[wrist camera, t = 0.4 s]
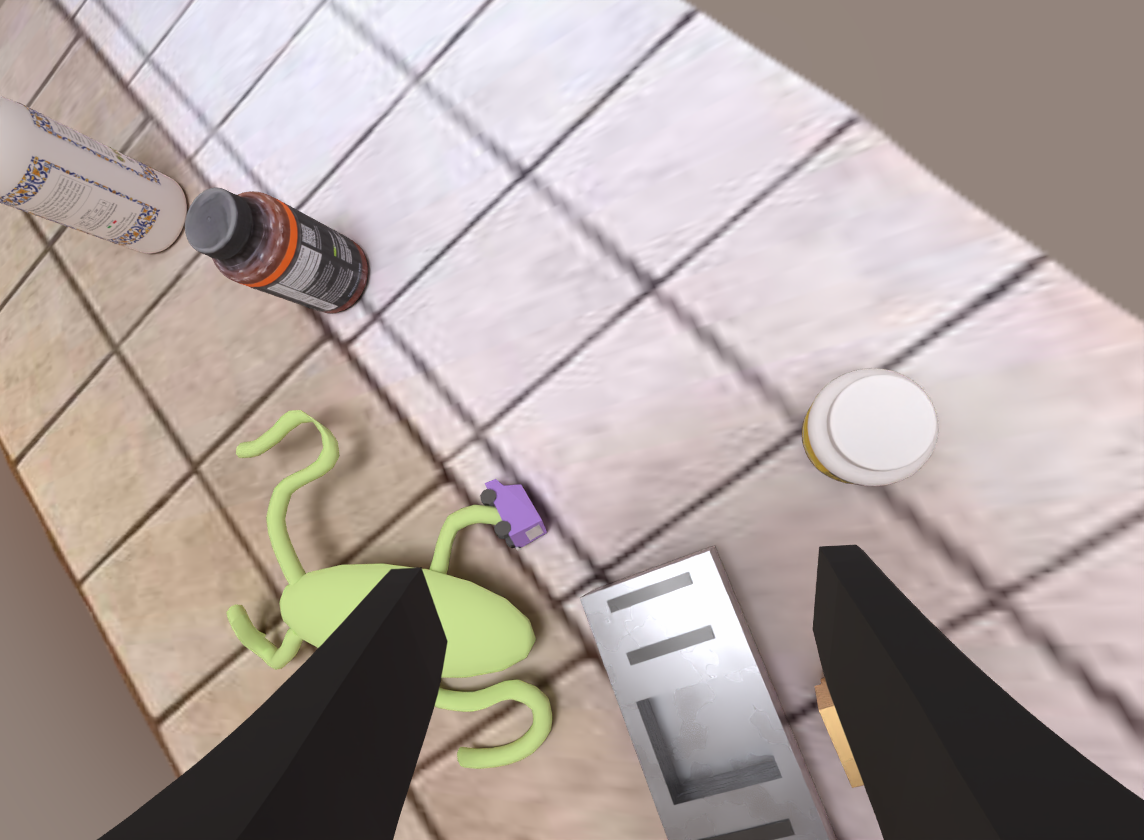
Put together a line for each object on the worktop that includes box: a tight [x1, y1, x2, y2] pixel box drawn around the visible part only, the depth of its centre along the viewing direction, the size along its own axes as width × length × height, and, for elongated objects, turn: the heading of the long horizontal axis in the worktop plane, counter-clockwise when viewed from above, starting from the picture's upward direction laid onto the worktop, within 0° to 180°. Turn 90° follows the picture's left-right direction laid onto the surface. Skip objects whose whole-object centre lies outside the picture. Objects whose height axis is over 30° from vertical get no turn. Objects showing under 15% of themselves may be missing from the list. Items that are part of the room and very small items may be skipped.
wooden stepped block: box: [815, 678, 864, 788], centre depth 30 cm, size 4×4×6 cm
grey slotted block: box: [580, 546, 837, 840], centre depth 34 cm, size 18×8×3 cm, turn 23°
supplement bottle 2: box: [802, 368, 939, 486], centre depth 29 cm, size 5×5×10 cm
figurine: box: [227, 410, 552, 769], centre depth 40 cm, size 18×27×6 cm
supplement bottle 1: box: [185, 188, 368, 313], centre depth 41 cm, size 6×6×11 cm
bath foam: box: [0, 96, 187, 253], centre depth 44 cm, size 7×7×20 cm
